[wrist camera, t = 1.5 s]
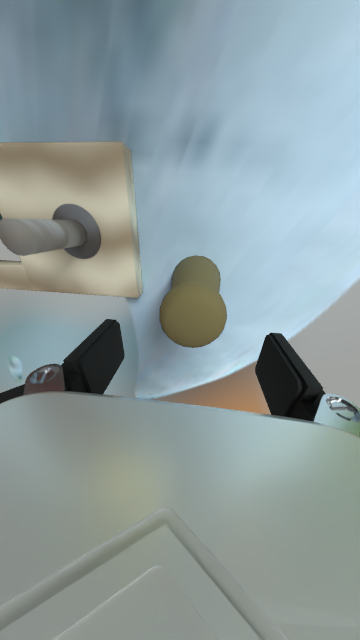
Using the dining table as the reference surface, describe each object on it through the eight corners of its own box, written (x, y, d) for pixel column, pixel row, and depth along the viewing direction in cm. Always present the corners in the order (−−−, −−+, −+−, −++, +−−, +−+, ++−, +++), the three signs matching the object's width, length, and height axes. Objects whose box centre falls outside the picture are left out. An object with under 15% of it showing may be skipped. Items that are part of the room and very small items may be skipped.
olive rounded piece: (210, 308, 23) (217, 368, 13) (167, 296, 23) (143, 348, 13) (228, 263, 20) (252, 300, 10) (178, 249, 20) (157, 273, 10)
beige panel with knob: (-90, 151, 18) (-317, 94, 10) (130, 150, 16) (62, 80, 8) (-17, 281, 25) (-116, 307, 17) (143, 292, 23) (112, 327, 15)
